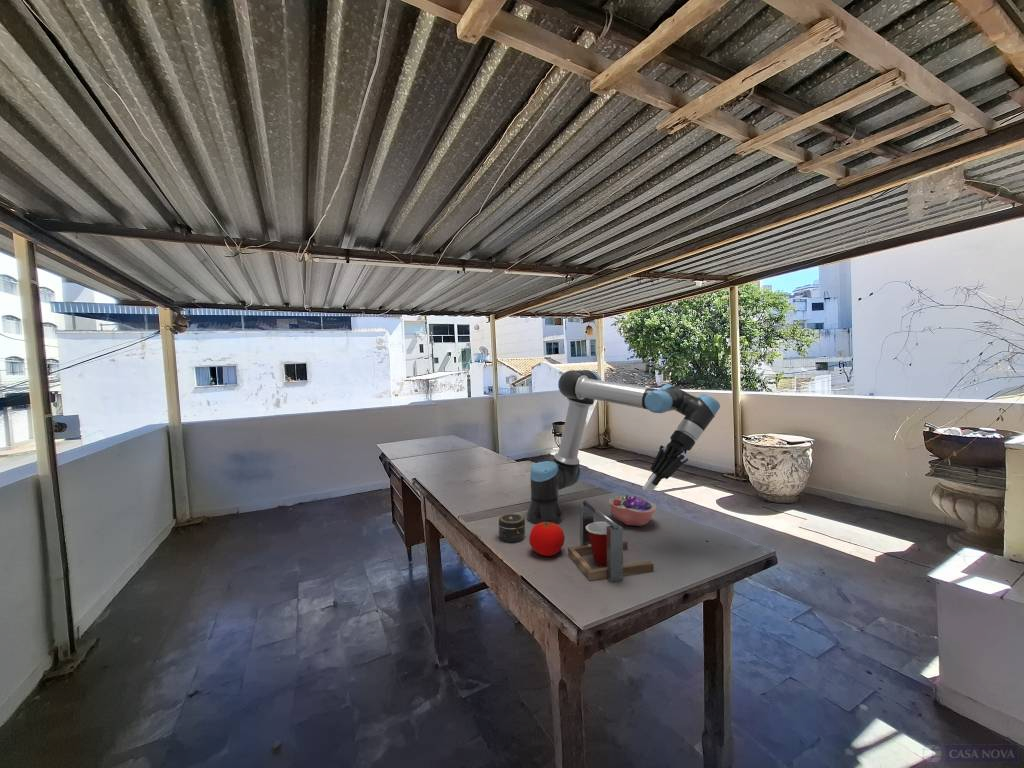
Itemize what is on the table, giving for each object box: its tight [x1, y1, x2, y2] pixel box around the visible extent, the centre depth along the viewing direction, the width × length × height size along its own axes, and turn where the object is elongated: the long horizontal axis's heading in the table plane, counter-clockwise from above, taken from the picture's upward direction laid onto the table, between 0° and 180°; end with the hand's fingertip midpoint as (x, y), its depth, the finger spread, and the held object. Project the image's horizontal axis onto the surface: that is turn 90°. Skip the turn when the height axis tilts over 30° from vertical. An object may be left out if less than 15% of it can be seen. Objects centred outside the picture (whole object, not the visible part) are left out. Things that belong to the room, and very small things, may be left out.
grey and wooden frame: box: [567, 500, 655, 584], centre depth 127 cm, size 22×22×17 cm
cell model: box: [608, 494, 657, 527], centre depth 160 cm, size 17×20×11 cm
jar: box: [498, 513, 526, 544], centre depth 147 cm, size 10×10×8 cm
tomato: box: [528, 522, 566, 557], centre depth 134 cm, size 11×12×10 cm
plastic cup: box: [586, 521, 610, 567], centre depth 127 cm, size 11×11×12 cm
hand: (646, 491), depth 132 cm, fingers closed
